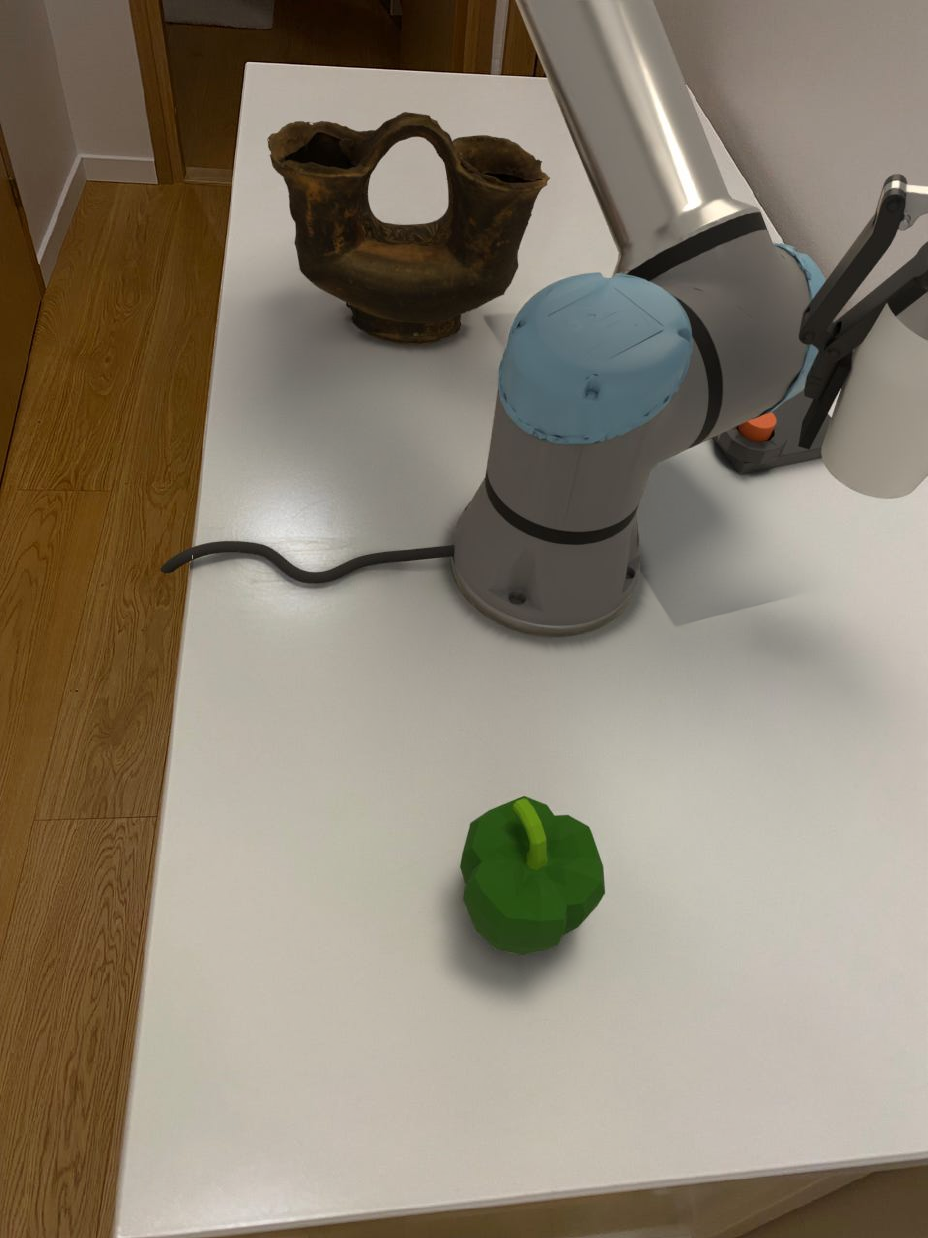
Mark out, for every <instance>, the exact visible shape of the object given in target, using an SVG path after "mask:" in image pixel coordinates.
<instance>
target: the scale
mask: <svg viewBox="0 0 928 1238" xmlns="http://www.w3.org/2000/svg"><path fill="white" fill-rule="evenodd" d="M812 401H813V399H812V398H808V397H805V396H804V389H803V390H802V391H801V392H800V393H798V394H797V395H795V396H794V397H792V398H790V399H788V400H787V401H785V402H783V403H782V404H781V405H780V406H779V407H778V408H777V409H775V410H774V411H772V413H773V414H774V415H775V417H776V420H777V422H776V425H775V427H774V429H773V431H772V434H771V436H770V438H769V439H768V440H767V441H765V442H756V441H751V440H749V439H747V438H745V437H743V436H742V435H741V434H740V433H739V432H738V426H736V427H734V428H732V429H730V430H728V431H725V432H723V433H721V434H719V435H717V436H715V437H713V438H712V440H714V442H715V443H716V445H717V447H719V448H720V450H721V451H722V453H723V454H724V455H725V456H726V458H727V459H728V461H729V462H730V464H732V466H733V467H734V469H735V470H736V471H737V472H738V474H739V475H744V474H749V473H755V472H759V471H764V470H769V469H774V468H778V467H784V466H787V465H792V464H797V463H803V462H806V461H811V460H817V459H822V456H821V449H822V445H823V442H824V439H825V436H826V433H827V430H828V427H829V424H830V421H831V418H832V415H830V414H829V413H828V414H827V416H826V418H825V420H824V422H823V424H822V426H821V428H820V430H819V432H818V434H817V436H816V438H815V440H814V442H813V444H812V445H811V447H810V449H806V448H802V447H799V446H798V445H799V439H800V433H801V427H802V421H803V419H804V417H805V415H806V413H807V411H808V409H809V407H810V405H811V403H812Z"/></svg>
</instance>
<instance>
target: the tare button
mask: <svg viewBox="0 0 928 1238" xmlns="http://www.w3.org/2000/svg"><path fill="white" fill-rule="evenodd" d="M776 422H777V420H776V417H775V415H774V414H773V413H772V412H771V413H768V414H764V415H762V416H760V417H758V418H755V419H751V420H749V421H746V422H744V423H742V424H740V425H738V432H739V433H740V434H741V435H742V436H743V437H745V438H747V439H749V440H751V441H756V442H765V441H767V440H768V439H769V438H770V436H771V434H772V431H773V429H774V427H775V425H776Z"/></svg>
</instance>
